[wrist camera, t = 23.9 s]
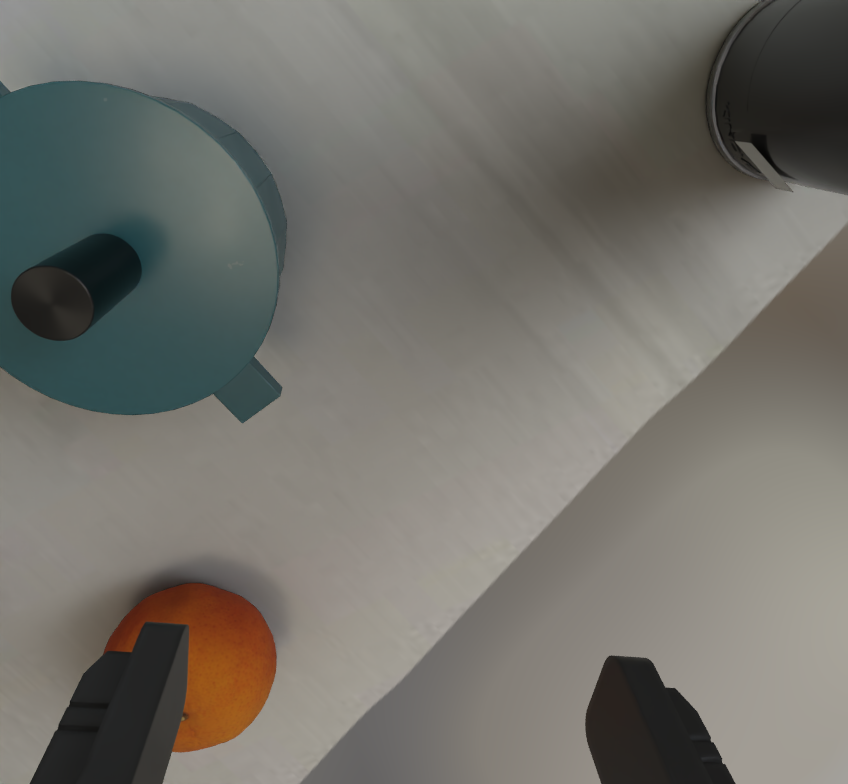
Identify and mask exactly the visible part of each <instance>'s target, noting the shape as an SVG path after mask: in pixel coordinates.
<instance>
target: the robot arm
mask: <svg viewBox="0 0 848 784" xmlns="http://www.w3.org/2000/svg"><path fill="white" fill-rule="evenodd" d="M707 119H708V124H709V129H710V132H711V136H712V138H713V140H714V143H715V145H716V147H717V148H718V150H719V152H720V153H721V155H722V156H723V157H724V158H725V159H726V161H727V162H728V163H729V164H731V165H732V166H733V167H734V168H736V169H737V170H739V171H740V172H742V173H744V174H746V175H748V176H751V177H754V178H758V179H763V180H768V181H770V182H771V183H772V184H773V186H774V187H775V188H777V189H781V190H786V191H790V192H793V191H792V190H791V188H790V187H789V186H788V185H787V184H786V183H785V182H788V183H792V184H797V185H800V186H805V187H810V188H815V189H820V190H825V191H829V192H834V193H839V194H844V195H848V0H763V1H762V2H760V3H759V4H758V5H756V6H755V7H754V8H753V9H751V10H750V11H749V12H748V13H747V14H746V15H745V16H744V17H743V18H742V19H741V20H740V21H739V23H738V24H737V25H736V26H735V27H734V29H733V30H732V31H731V33H730V34H729V36H728V37H727V39H726V40H725V42H724V44H723V46H722V48H721V49H720V51H719V54H718V56H717V58H716V60H715V63H714V66H713V69H712V72H711V76H710V80H709V85H708V90H707ZM188 651H189V625H188V624H174V623H160V622H145V623H144V625H143V626H142V628H141V631H140V633H139V635H138V638H137V640H136V642H135V645H134V647H133V650H132V652H122V651H107V652H106V653H105V654H104V655H103V656H102V657H101V658H100V659H98V660H97V661H96V662H95V663H94V664H93V665H92V666H91V667H90V668H89V669H88V670H87V671H86V672H85V673H84V674H83V676H82V678H81V680H80V682H79V684H78V686H77V688H76V690H75V692H74V694H73V696H72V698H71V700H70V705H69V707H67V709H66V711H65V713H64V715H63V717H62V719H61V721H60V723H59V726H58V730H57V731H55V733H54V735H53V737H52V739H51V741H50V743H49V745H48V747H47V749H46V752H45V754H44V756H43V758H42V760H41V762H40V764H39V766H38V768H37V770H36V772H35V774H34V776H33V778H32V780H31V782H30V784H162V783H163V780H164V776H165V773H166V770H167V766H168V763H169V760H170V756H171V753H172V749H173V746H174V743H175V739H176V736H177V733H178V729H179V726H180V722H181V719H182V715H183V710H184V705H185V699H186V692H187V680H188ZM585 726H586V737H587V742H588V745H589V748H590V751H591V754H592V757H593V760H594V763H595V766H596V769H597V772H598V775H599V778H600V781H601V784H735V782H734V780H733V778H732V776H731V774H730V773H729V771H728V769H727V767H726V765H725V764H723V763H722V758H721V756H720V754H719V752H718V750H717V748H716V746H715V744H714V743H713V742H711V740H710V739H711V737H710V735H709V733H708V731H707V730H706V727H705V726H704V724H703V722H702V720H701V718H700V716H699V714H698V712H697V711H696V710H695V709H694V708H693V707H692V706H691V705H690V703H689V702H688V701H686V699H685V698H684V697H683V696H682V695H681V694H680V693H679V692H678V691H677V690H676V689H675V688H665V686H664V684H663V682H662V681H661V678H660V676H659V674H658V672H657V671H656V668H655V666H654V665H653V663H652V662H651V661H650V660H649V659H647V658H639V657H624V656H609V657H608V658H607V659H606V661H605V663H604V665H603V668H602V671H601V673H600V676H599V679H598V681H597V684H596V687H595V689H594V692H593V695H592V698H591V700H590V703H589V706H588V709H587V713H586V723H585Z"/></svg>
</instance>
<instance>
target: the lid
mask: <svg viewBox="0 0 848 784" xmlns="http://www.w3.org/2000/svg"><path fill="white" fill-rule="evenodd" d="M279 286H280V262H279V254H278V246H277V241H276V237H275V233H274V229H273V226H272V222H271V219H270V217H269V214H268V212H267V209H266V207H265V204H264V202H263V200H262V198H261V196H260V194H259V192H258V191H257V189H256V187H255V185H254V183H253V181H252V180H251V178H250V177H249V176H248V174H247V173H246V171H245V170H244V169H243V167H242V166H241V164H240V163H239V162H238V160H237V159H236V158H235V157H234V156H233V155H232V154H231V153H230V151H229V150H228V149H227V148H226V147H225V146H224V145H223V144H222V143H221V142H220V141H219V140H218V139H217V138H216V137H215V136H213V135H212V134H211V133H210V132H209V131H208V130H207V129H205V128H204V127H203V126H202V125H201V124H199V123H198V122H196V121H195V120H193V119H192V118H190V117H189V116H187V115H186V114H184V113H183V112H182V111H180V110H178V109H176V108H174V107H172V106H170V105H168V104H167V103H165V102H163V101H161V100H159V99H157V98H154V97H151V96H149V95H146V94H144V93H141V92H138V91H136V90H133V89H129V88H124V87H120V86H116V85H112V84H107V83H97V82H88V81H58V82H49V83H43V84H38V85H32V86H28V87H25V88H22V89H19V90H16V91H14V92H11V93H8V94H6V95H4V96H2V97H0V367H1V368H3V369H4V370H5V371H6V372H8V373H9V374H10V375H12V376H13V377H15V378H16V379H18V380H19V381H21V382H22V383H24V384H26V385H27V386H29V387H30V388H32V389H34V390H36V391H38V392H40V393H42V394H44V395H46V396H48V397H50V398H53V399H55V400H58V401H61V402H63V403H66V404H69V405H71V406H75V407H79V408H83V409H87V410H90V411H96V412H102V413H109V414H121V415H141V414H154V413H160V412H165V411H170V410H175V409H178V408H181V407H184V406H187V405H190V404H193V403H195V402H197V401H199V400H202V399H204V398H206V397H208V396H210V395H211V394H213V393H215V392H216V391H218V390H219V389H221V388H222V387H224V386H225V385H227V384H228V383H229V382H230V381H231V380H232V379H234V378H235V377H236V376H237V375H238V374H239V373H240V372H241V371H242V370H243V369H244V368H245V367H246V365H247V364H248V363H249V362H250V361H251V360H252V358H253V357H254V355H255V354H256V352H257V351H258V349H259V348H260V346H261V344H262V343H263V341H264V338H265V336H266V334H267V332H268V330H269V328H270V325H271V322H272V319H273V316H274V312H275V309H276V305H277V299H278V293H279Z"/></svg>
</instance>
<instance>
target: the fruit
mask: <svg viewBox="0 0 848 784" xmlns="http://www.w3.org/2000/svg"><path fill="white" fill-rule="evenodd" d="M145 622H160V623H174V624H188V625H189V651H188V680H187V692H186V699H185V705H184V710H183V715H182V719H181V722H180V726H179V729H178V733H177V736H176V739H175V743H174V746H173V749H172V752H190V751H196V750H200V749H204V748H208V747H212V746H215V745H218V744H220V743H224V742H227V741H229V740H231V739H233V738H235V737H236V736H238V735H239V734H240V733H242V732H243V731H244V730H245V729H246V728H247V727H248V726H249V725H250V724H251V723H252V722H253V721H254V719H255V718H256V717H257V715H258V714H259V712H260V711H261V709H262V708H263V706H264V704H265V702H266V700H267V698H268V695H269V693H270V690H271V687H272V684H273V681H274V677H275V673H276V658H277V656H276V648H275V643H274V639H273V635H272V633H271V631H270V629H269V627H268V625H267V623H266V622H265V620H264V618H263V616H262V615H261V613H260V612H259V611H258V610H257V609H256V607H255V606H254V605H252V604H251V603H250V602H248V601H247V600H246V599H244V598H243V597H241V596H239V595H237V594H234V593H231V592H228V591H225V590H222V589H220V588H217V587H214V586H211V585H207V584H202V583H187V584H182V585H178V586H176V587H172V588H168V589H166V590H163V591H160V592H157V593H155V594H152V595H150V596H148V597H147V598H145V599H144V600H142V601H141V602H140V603H139V604H138V605H136V606H135V607H134V608H133V609H132V610H131V611H130V612H129V613H128V614H127V615H126V616H125V617H124V619H123V620H122V621H121V623H120V624H119V625H118V627H117V628H116V629H115V631H114V632H113V634H112V635H111V637H110V638H109V641H108V643H107V645H106V647H105V650H104V654H105V653H106V652H107V651H122V652H132V650H133V647H134V645H135V642H136V640H137V638H138V635H139V633H140V631H141V628H142V626H143V625H144V623H145ZM104 654H103V655H104Z"/></svg>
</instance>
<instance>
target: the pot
mask: <svg viewBox="0 0 848 784" xmlns="http://www.w3.org/2000/svg"><path fill="white" fill-rule="evenodd" d="M8 93H11V92H10V91H9V90H8V89H7V88H6V87H5V86H4V85H3V83H2V82H1V81H0V97H2V96H4V95H6V94H8ZM151 97H154V96H151ZM154 98H157V99H159V100H161V101H163V102H165V103H167V104H168V105H170V106H172V107H174V108H176V109H178V110H180V111H182V112H183V113H184V114H186V115H187V116H189V117H190V118H192V119H193V120H195V121H196V122H198V123H199V124H201V125H202V126H203V127H204V128H205V129H207V130H208V131H209V132H210V133H211V134H212V135H213V136H215V137H216V138H217V139H218V140H219V141H220V142H221V143H222V144H223V145H224V146H225V147H226V148H227V149H228V150H229V151H230V153H231V154H232V155H233V156H234V157H235V158H236V159H237V160H238V162H239V163H240V164H241V166H242V167H243V169H244V170H245V171H246V173H247V174H248V176H249V177H250V178H251V180H252V181H253V183H254V185H255V187H256V189H257V191H258V192H259V194H260V196H261V198H262V200H263V202H264V204H265V207H266V209H267V212H268V214H269V217H270V219H271V222H272V226H273V229H274V233H275V237H276V241H277V246H278V254H279V262H280V275H281V273H282V270H283V267H284V254H285V248H286V229H287V220H286V217H285V213H284V209H283V205H282V201H281V197H280V194H279V192H278V189H277V187H276V184H275V181H274V179H273V176H272V174H271V172H270V171H269V170H268V168H267V167H266V165H265V164H264V162H263V161H262V159H261V158H260V157H259V155H258V154H257V152H256V151H255V150H254V149H253V148H252V147H251V146H250V144H249V143H248V142H247V141H246V140H245V139H244V138H243V137H242V136H241V135H240V133H238V132H237V131H236V130H235V129H233V128H232V127H230V126H229V125H227V124H226V123H225V122H223V121H222V120H220V119H219V118H217V117H216V116H214V115H212V114H210V113H208V112H206V111H204V110H202V109H200V108H198V107H197V106H195V105H193V104H191V103H189V102H183V101H177V100H172V99H168V98H160V97H154ZM281 391H282V386H281V385H280V384H279V383H278V382H277V381H276V380H275V379H274V378H273V377H272V376H271V374H270V373H269V372H268V371H267V370H266V369H265V368H264V367H263V366H262V365H261V364H260V363H259V361H258V360H257V359H256V358H255V357H253V358H252V360H251V361H250V362H249V363H248V364H247V365H246V367H245V368H244V369H243V370H242V371H241V372H240V373H239V374H238V375H237V376H236V377H235V378H234V379H232V380H231V381H230V382H229V383H228V384H227V385H225V386H224V387H222V388H221V389H219V390H218V391H216V392H215V393H213V394H214V395H215V396H216V397H217V398H218V399H219V400H220V401H221V402H222V403H223V404H224V405H225V406H226V407H227V408H228V409H229V411H230V412H231V413H232V414H233V415H234V416H235V417H236V418H237V419H238V420H239V421H240V422H241V423H244V422H245V421H247V420H248V419H249V418H251V417H252V416H254V415H255V414H256V413H258V412H259V411H260V410H262V409H263V408H265V407H266V406H267V405H269V404H270V403H271V402H273V401H274V400H275V399H277V398H278V397H280V395H281Z"/></svg>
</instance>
